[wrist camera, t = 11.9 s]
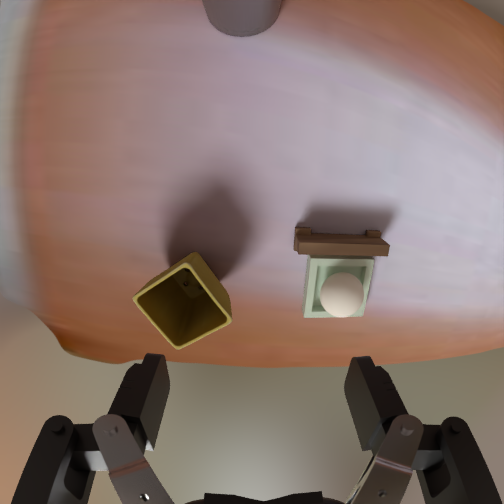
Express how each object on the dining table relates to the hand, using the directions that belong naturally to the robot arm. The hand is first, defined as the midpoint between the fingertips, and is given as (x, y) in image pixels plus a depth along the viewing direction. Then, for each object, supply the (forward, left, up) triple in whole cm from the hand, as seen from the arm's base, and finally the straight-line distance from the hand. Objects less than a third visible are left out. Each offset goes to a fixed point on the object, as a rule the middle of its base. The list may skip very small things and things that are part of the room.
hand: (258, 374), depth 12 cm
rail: (+3, +12, -28) cm, 31 cm away
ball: (+10, +12, -28) cm, 31 cm away
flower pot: (+9, -8, -28) cm, 31 cm away
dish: (+10, +12, -28) cm, 32 cm away
